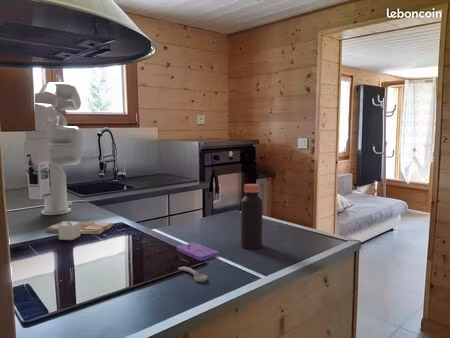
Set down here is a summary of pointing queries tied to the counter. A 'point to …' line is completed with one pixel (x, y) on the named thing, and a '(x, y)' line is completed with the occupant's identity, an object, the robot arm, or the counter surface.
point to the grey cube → (69, 230)
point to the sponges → (197, 251)
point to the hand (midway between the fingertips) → (39, 182)
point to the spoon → (195, 274)
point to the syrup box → (41, 182)
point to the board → (84, 227)
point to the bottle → (251, 217)
